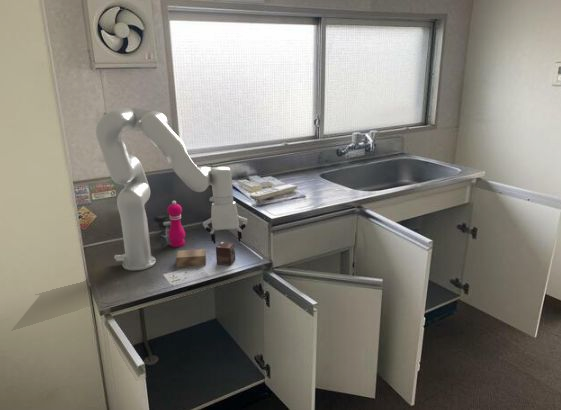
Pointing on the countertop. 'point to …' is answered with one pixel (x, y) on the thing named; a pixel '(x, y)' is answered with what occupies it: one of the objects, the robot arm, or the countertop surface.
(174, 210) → the pepper mill
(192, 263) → the light brown rectangular block
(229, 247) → the box
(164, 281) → the countertop surface
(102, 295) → the countertop surface
